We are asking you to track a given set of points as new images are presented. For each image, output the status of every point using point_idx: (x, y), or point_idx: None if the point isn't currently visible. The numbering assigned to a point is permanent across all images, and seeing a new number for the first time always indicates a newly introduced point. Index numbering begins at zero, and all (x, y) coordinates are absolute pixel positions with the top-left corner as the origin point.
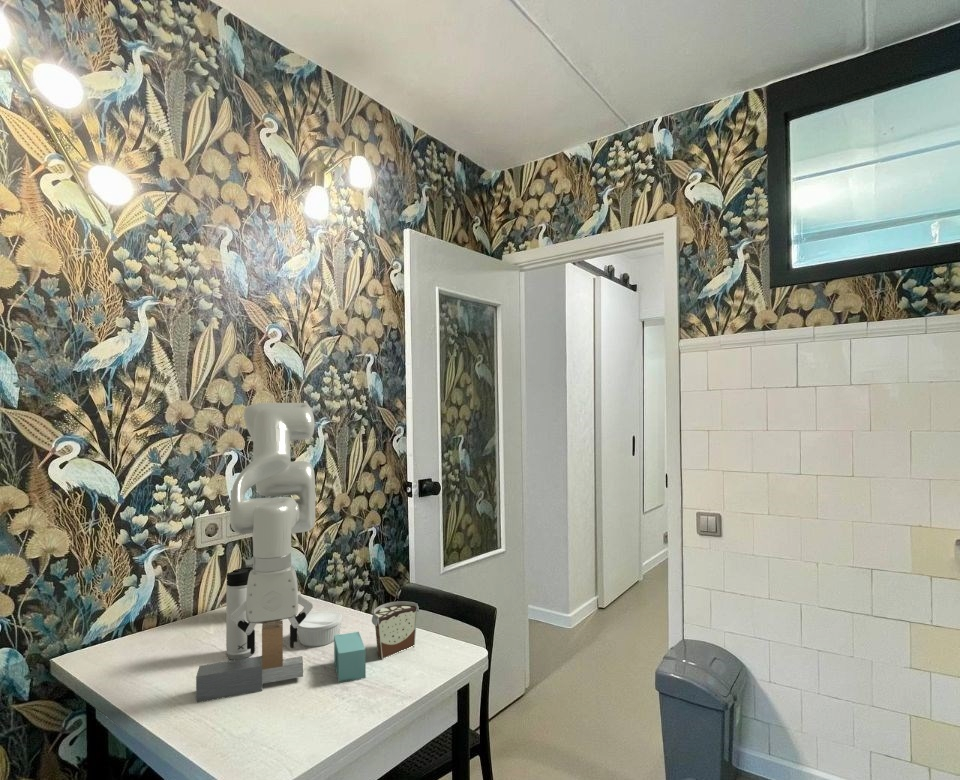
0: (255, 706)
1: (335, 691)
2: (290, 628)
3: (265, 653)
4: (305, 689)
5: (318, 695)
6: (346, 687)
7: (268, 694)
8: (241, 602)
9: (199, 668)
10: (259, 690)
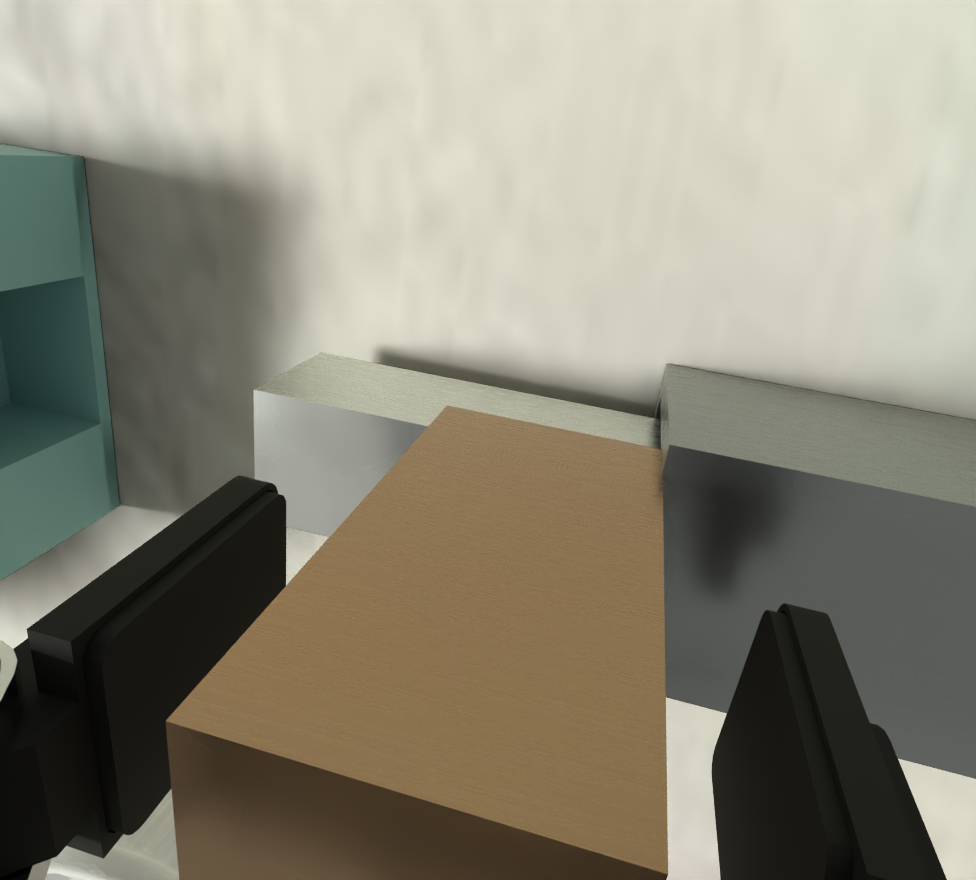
0: (789, 83)
1: (107, 8)
2: (101, 702)
3: (614, 527)
4: (332, 188)
5: (239, 5)
6: (27, 38)
7: (628, 269)
8: None
9: None
10: (687, 370)
